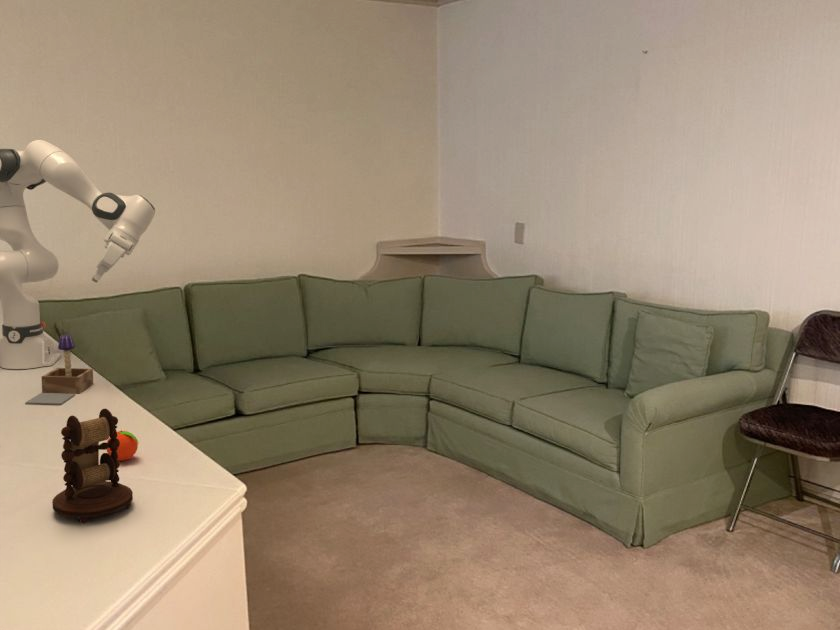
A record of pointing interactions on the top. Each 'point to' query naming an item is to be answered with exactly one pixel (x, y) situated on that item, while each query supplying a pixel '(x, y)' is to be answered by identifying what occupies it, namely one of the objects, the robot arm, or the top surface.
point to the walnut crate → (67, 381)
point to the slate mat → (50, 399)
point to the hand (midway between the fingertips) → (94, 280)
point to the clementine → (125, 445)
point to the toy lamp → (66, 351)
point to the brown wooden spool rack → (91, 469)
